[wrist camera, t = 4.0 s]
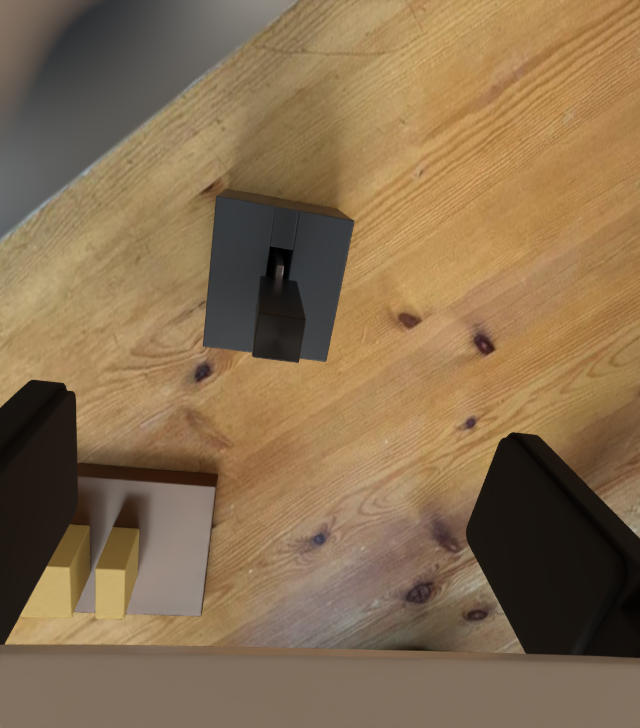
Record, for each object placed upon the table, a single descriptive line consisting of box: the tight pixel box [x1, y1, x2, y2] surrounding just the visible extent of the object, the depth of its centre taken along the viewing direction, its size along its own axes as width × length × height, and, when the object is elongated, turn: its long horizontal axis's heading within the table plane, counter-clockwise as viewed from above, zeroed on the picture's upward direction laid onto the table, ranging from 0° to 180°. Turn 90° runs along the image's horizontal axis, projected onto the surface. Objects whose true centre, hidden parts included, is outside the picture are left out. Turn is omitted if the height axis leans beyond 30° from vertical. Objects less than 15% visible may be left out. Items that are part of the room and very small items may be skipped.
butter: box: [19, 524, 90, 618], centre depth 34 cm, size 6×5×4 cm
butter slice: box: [95, 527, 139, 620], centre depth 35 cm, size 2×5×4 cm, turn 170°
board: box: [70, 463, 218, 616], centre depth 37 cm, size 20×14×2 cm
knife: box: [252, 247, 306, 363], centre depth 24 cm, size 2×3×14 cm, turn 170°
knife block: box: [203, 189, 354, 362], centre depth 27 cm, size 7×8×6 cm
